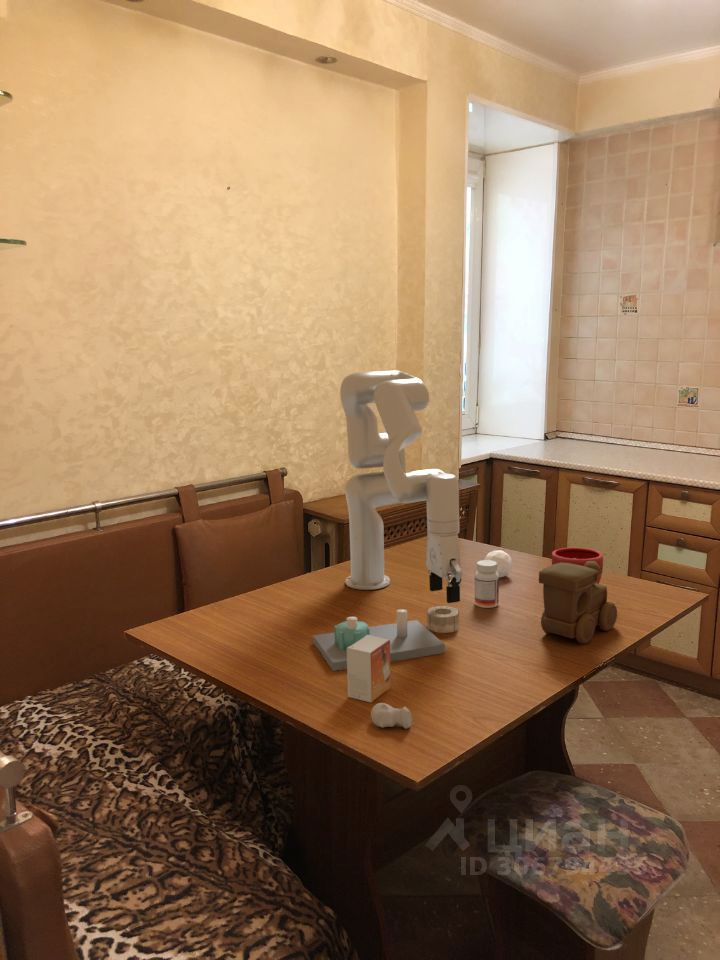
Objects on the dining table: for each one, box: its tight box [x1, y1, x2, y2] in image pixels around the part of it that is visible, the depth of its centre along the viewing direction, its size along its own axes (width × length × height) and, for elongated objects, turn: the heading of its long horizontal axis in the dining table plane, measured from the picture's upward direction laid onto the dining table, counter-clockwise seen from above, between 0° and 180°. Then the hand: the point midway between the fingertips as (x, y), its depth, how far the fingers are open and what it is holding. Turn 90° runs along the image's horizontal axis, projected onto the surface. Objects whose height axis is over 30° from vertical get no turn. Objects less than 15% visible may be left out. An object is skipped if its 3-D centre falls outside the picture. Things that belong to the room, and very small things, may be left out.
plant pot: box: [551, 547, 604, 584], centre depth 210 cm, size 13×13×12 cm
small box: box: [346, 635, 392, 703], centre depth 158 cm, size 8×6×10 cm
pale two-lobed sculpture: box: [370, 702, 413, 730], centre depth 146 cm, size 4×8×5 cm
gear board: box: [312, 609, 446, 672], centre depth 180 cm, size 16×26×8 cm, turn 109°
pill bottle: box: [474, 559, 500, 609], centre depth 206 cm, size 6×6×11 cm
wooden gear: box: [426, 605, 460, 634], centre depth 192 cm, size 7×8×4 cm
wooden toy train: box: [538, 561, 618, 645], centre depth 185 cm, size 20×11×17 cm, turn 135°
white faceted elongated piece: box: [484, 549, 513, 578], centre depth 230 cm, size 8×8×12 cm
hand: (444, 596), depth 190 cm, fingers open, 9 cm apart
